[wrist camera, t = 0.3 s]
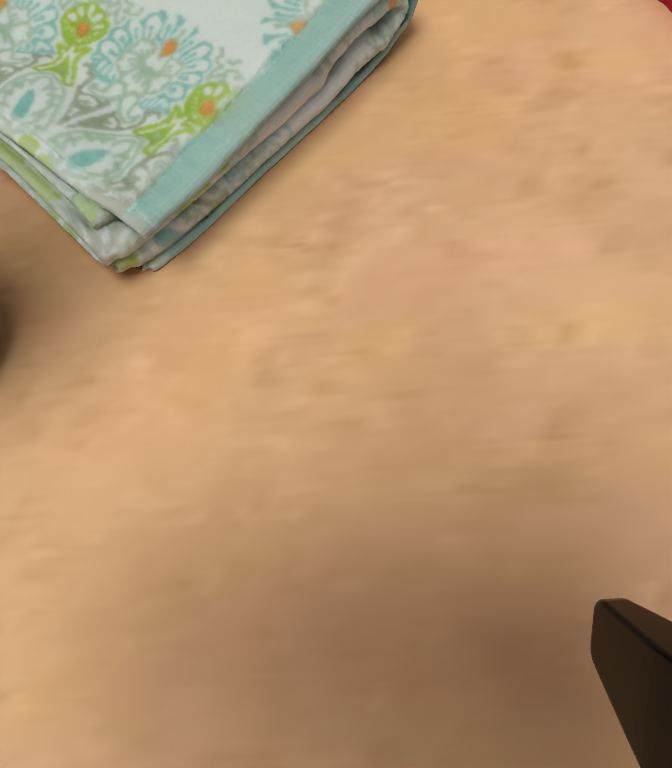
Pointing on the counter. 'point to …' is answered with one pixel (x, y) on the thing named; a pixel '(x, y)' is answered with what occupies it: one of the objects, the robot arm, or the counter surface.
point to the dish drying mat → (667, 3)
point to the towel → (170, 106)
